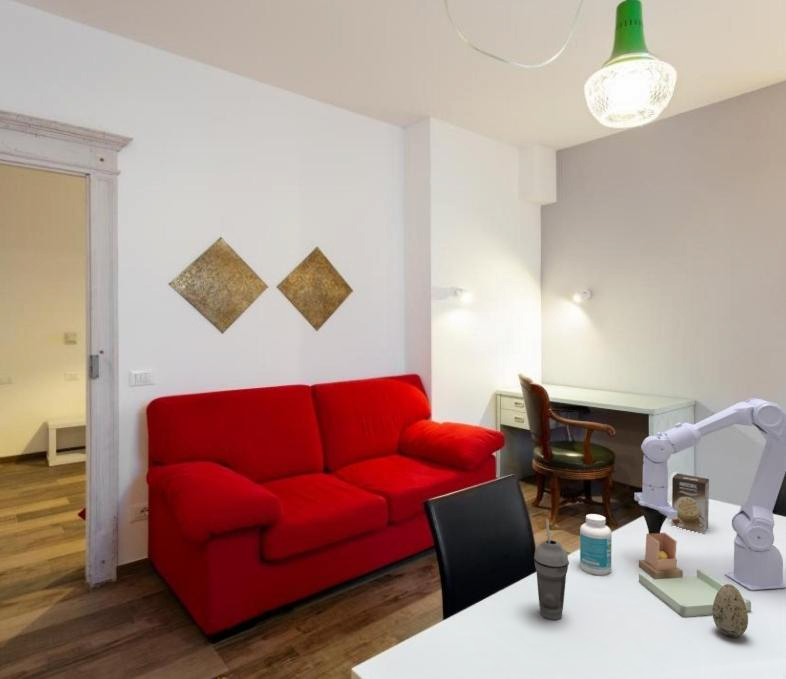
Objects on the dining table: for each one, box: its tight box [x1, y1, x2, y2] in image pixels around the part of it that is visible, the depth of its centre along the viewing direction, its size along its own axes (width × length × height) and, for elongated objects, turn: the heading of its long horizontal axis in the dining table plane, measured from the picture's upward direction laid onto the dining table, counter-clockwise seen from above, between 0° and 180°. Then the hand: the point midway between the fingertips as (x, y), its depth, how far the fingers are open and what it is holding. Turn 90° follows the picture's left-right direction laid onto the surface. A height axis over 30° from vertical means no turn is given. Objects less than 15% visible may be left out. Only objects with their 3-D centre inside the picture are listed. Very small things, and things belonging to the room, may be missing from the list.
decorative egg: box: [712, 583, 749, 638], centre depth 103 cm, size 6×6×10 cm
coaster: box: [638, 559, 684, 580], centre depth 129 cm, size 7×7×2 cm
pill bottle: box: [579, 513, 612, 576], centre depth 131 cm, size 8×7×14 cm
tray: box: [638, 568, 752, 618], centre depth 118 cm, size 16×16×2 cm
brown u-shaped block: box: [644, 532, 678, 571], centre depth 129 cm, size 5×5×7 cm
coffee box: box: [671, 472, 710, 535], centre depth 157 cm, size 9×6×16 cm
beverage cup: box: [533, 518, 570, 620], centre depth 111 cm, size 7×7×20 cm
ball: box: [659, 551, 668, 559], centre depth 129 cm, size 3×3×3 cm
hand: (654, 537), depth 131 cm, fingers closed
